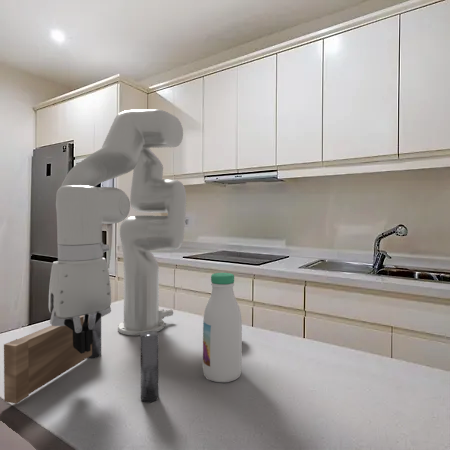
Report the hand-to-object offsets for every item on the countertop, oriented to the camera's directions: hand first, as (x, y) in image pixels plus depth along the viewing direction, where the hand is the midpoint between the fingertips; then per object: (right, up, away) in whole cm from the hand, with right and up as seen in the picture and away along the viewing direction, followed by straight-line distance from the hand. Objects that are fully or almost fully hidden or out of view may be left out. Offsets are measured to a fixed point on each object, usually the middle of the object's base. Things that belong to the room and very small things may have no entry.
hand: (82, 349), depth 61 cm
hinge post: (-3, -6, +12) cm, 14 cm away
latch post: (+14, -6, -5) cm, 16 cm away
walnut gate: (-6, -5, +1) cm, 8 cm away
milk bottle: (+26, -7, +4) cm, 27 cm away
